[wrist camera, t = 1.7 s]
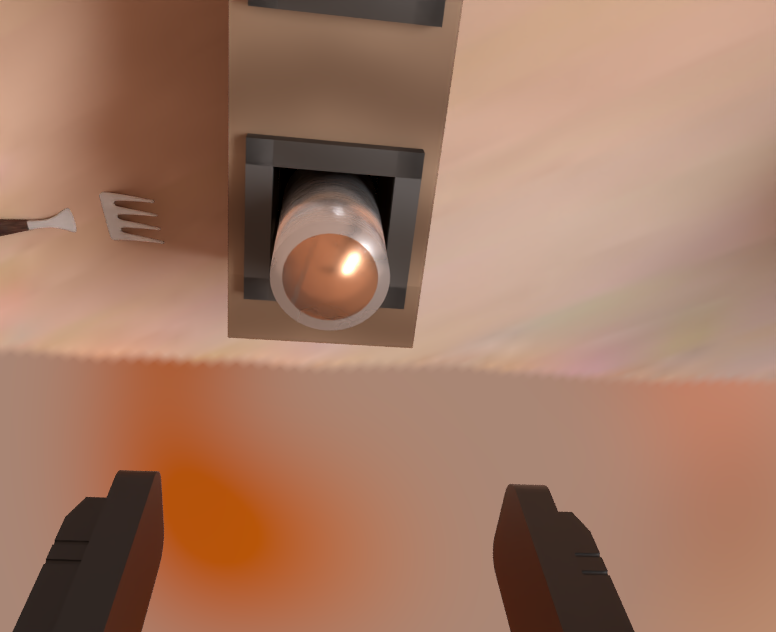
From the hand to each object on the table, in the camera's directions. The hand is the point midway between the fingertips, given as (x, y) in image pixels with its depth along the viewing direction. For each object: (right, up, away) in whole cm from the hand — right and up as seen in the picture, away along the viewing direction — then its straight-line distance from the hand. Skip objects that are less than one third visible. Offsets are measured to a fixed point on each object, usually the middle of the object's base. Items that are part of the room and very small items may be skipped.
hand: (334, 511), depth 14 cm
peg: (-1, +9, +17) cm, 19 cm away
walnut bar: (-1, +16, +18) cm, 25 cm away
